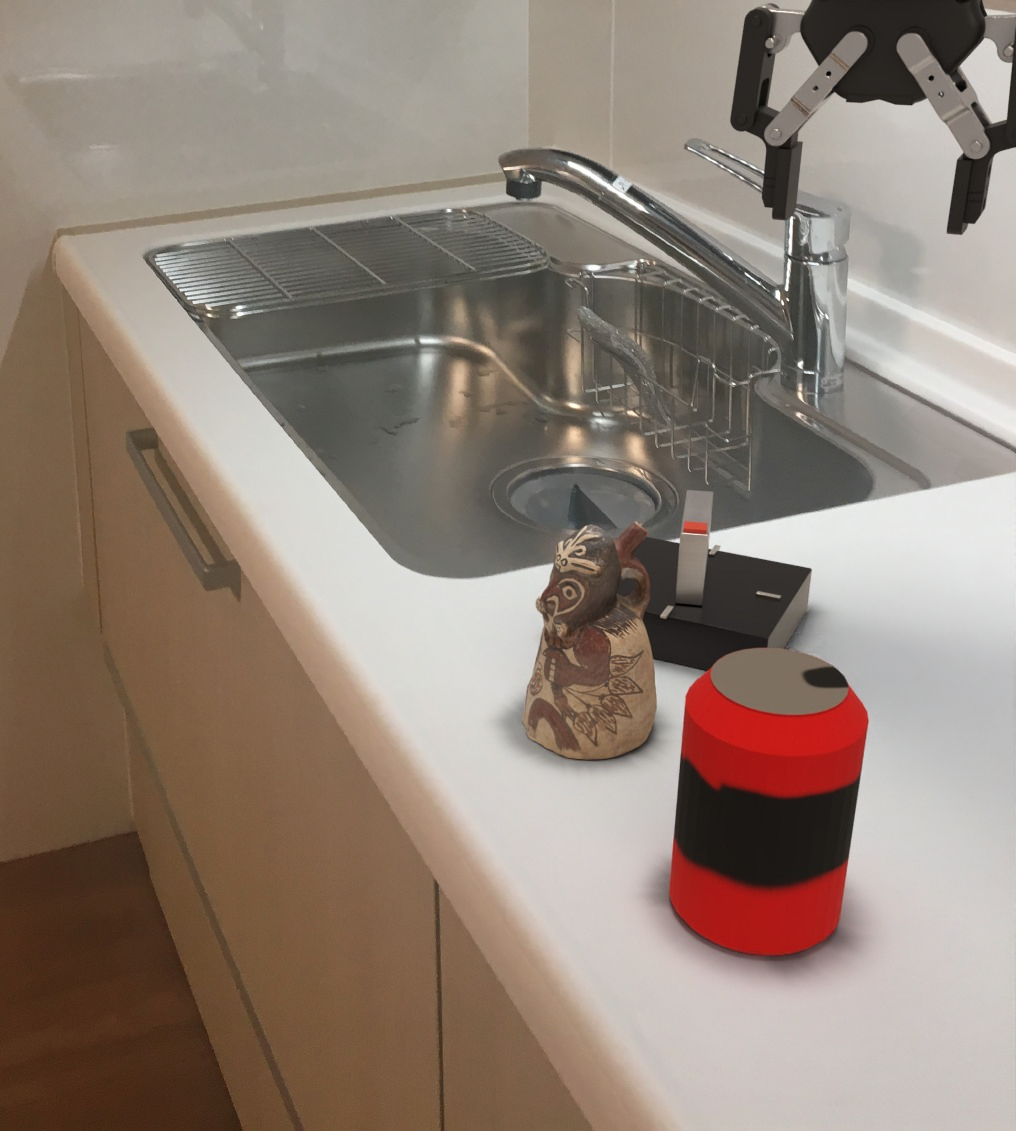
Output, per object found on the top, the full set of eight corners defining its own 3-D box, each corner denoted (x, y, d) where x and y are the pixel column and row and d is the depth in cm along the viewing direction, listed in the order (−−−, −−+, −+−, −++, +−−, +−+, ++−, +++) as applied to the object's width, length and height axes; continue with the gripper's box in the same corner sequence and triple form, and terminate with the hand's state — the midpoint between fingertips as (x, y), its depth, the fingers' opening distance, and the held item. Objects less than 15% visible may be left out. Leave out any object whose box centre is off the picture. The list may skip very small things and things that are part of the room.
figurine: (511, 696, 88) (516, 505, 83) (632, 687, 89) (645, 496, 84) (540, 765, 82) (548, 562, 77) (671, 754, 82) (687, 552, 77)
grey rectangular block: (681, 556, 97) (687, 485, 95) (707, 558, 97) (713, 487, 94) (674, 603, 91) (680, 529, 89) (702, 606, 91) (709, 531, 89)
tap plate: (808, 608, 97) (814, 563, 95) (761, 686, 88) (766, 638, 87) (624, 571, 102) (626, 527, 101) (563, 641, 94) (566, 594, 93)
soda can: (865, 954, 68) (902, 721, 63) (695, 966, 68) (717, 732, 62) (805, 850, 75) (833, 632, 69) (649, 861, 74) (666, 642, 69)
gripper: (1089, -131, 71) (1029, 220, 78) (777, -126, 78) (748, 197, 85) (1069, -123, 65) (1006, 255, 72) (734, -118, 72) (707, 228, 79)
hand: (867, 224), depth 79 cm, fingers open, 8 cm apart
